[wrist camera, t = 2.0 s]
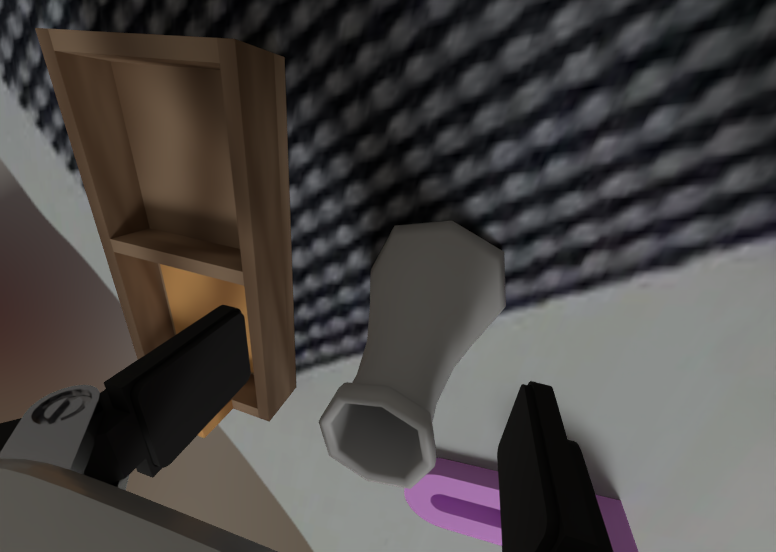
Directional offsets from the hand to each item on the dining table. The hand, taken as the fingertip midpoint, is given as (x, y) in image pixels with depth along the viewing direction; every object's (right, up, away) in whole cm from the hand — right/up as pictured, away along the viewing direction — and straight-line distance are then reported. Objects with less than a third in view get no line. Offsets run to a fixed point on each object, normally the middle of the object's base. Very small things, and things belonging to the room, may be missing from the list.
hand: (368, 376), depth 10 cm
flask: (+3, +3, +7) cm, 8 cm away
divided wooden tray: (-10, +5, +10) cm, 15 cm away
